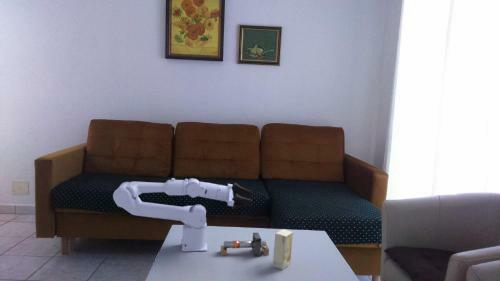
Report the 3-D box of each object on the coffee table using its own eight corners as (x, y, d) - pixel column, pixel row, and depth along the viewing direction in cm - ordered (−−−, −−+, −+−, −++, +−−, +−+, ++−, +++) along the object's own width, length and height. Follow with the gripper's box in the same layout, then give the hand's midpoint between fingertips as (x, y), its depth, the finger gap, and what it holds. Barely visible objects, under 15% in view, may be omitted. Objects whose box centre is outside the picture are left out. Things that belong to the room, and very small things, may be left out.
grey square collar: (255, 256, 130) (256, 239, 130) (252, 248, 137) (253, 232, 136) (260, 256, 131) (261, 239, 130) (257, 248, 137) (258, 232, 136)
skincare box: (283, 270, 121) (285, 236, 120) (272, 266, 124) (274, 233, 122) (290, 263, 127) (293, 231, 125) (280, 260, 129) (282, 228, 128)
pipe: (221, 255, 129) (222, 243, 129) (220, 251, 133) (221, 238, 133) (268, 255, 133) (269, 242, 132) (266, 250, 136) (267, 238, 136)
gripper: (219, 191, 126) (255, 198, 128) (219, 174, 139) (251, 181, 142) (214, 208, 128) (250, 214, 130) (215, 190, 142) (247, 196, 144)
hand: (251, 198), depth 136 cm, fingers open, 7 cm apart
